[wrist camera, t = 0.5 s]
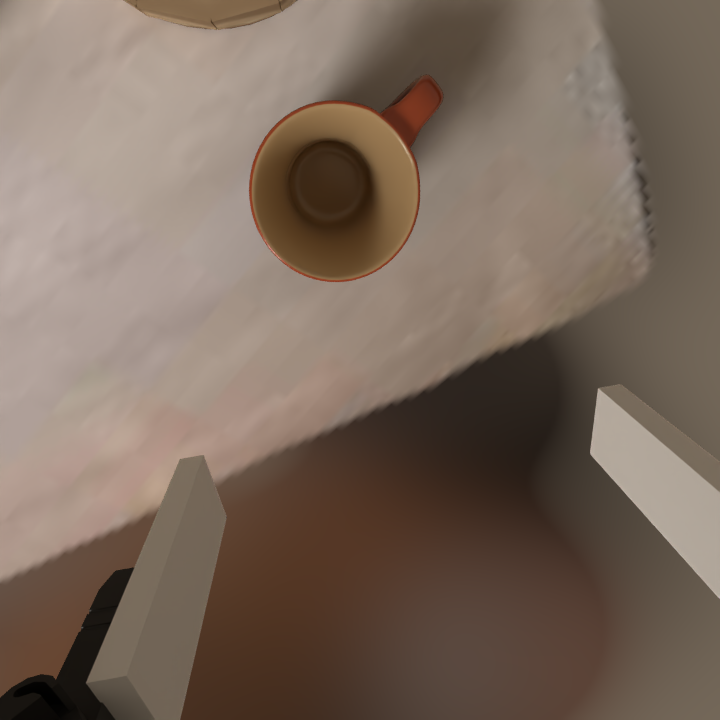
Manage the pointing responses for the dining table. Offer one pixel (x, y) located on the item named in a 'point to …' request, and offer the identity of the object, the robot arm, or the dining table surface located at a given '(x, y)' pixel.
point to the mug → (341, 183)
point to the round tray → (211, 11)
